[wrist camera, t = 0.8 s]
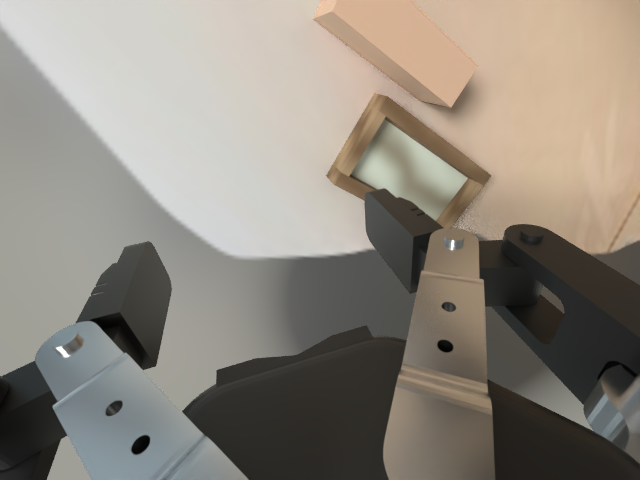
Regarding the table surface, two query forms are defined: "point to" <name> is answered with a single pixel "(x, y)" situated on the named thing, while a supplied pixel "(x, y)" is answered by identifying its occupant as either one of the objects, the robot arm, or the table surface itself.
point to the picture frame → (406, 163)
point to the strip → (401, 45)
